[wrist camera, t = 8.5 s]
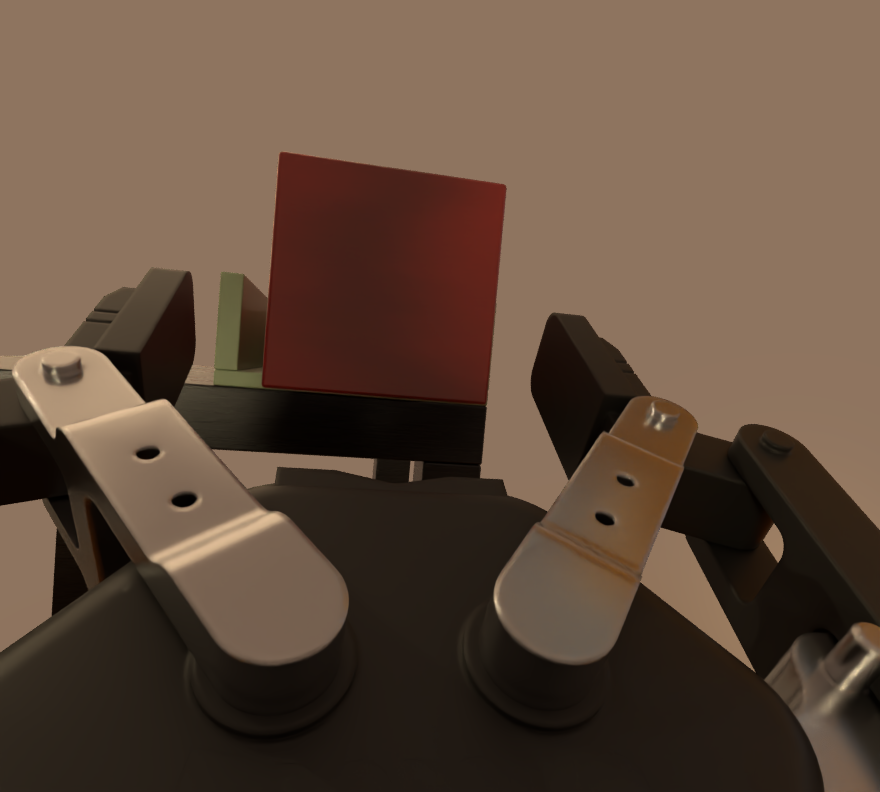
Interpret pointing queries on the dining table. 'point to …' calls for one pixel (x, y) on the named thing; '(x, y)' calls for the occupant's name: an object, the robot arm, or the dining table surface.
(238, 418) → the stand
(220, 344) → the olive green shallow box
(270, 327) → the red bar
